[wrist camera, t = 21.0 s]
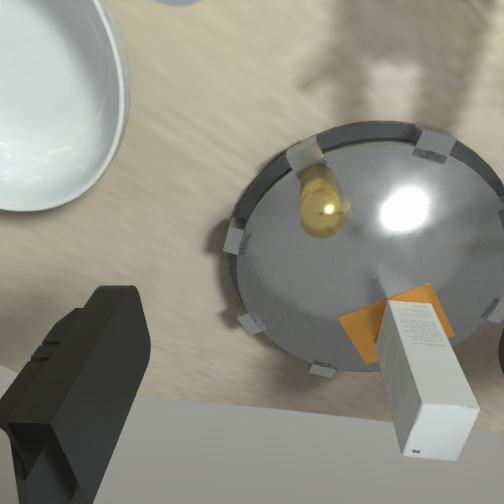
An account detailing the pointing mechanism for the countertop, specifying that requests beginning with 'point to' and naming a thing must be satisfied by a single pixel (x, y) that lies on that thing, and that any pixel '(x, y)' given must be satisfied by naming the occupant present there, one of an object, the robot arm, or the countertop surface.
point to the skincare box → (424, 383)
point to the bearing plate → (350, 134)
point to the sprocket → (368, 247)
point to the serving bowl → (59, 99)
